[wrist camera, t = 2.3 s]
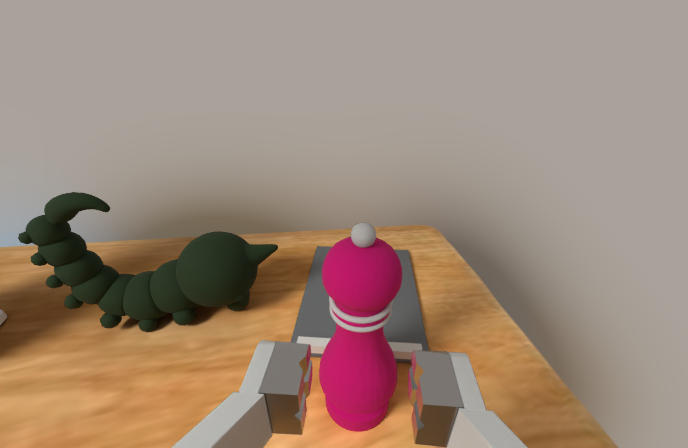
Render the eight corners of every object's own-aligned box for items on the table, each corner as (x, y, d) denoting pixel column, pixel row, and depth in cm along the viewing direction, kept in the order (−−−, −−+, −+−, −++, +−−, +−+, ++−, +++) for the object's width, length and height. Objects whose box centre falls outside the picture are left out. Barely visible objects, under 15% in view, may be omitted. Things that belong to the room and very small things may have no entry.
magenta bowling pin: (326, 363, 34) (320, 200, 24) (391, 369, 33) (412, 204, 24) (314, 433, 28) (300, 250, 18) (394, 442, 27) (424, 257, 17)
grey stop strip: (420, 363, 34) (423, 352, 33) (297, 355, 35) (296, 344, 34) (419, 354, 35) (421, 343, 34) (299, 346, 36) (298, 336, 35)
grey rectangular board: (429, 364, 34) (430, 360, 34) (288, 355, 35) (288, 351, 35) (407, 253, 53) (408, 250, 53) (317, 249, 54) (317, 246, 54)
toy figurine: (78, 363, 36) (290, 319, 39) (-35, 224, 26) (256, 181, 29) (115, 306, 44) (288, 274, 47) (39, 185, 34) (261, 154, 38)
